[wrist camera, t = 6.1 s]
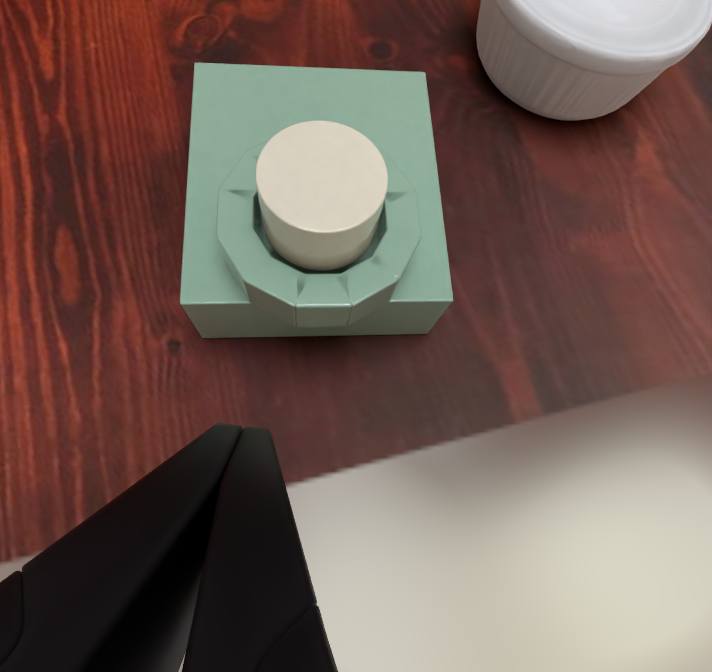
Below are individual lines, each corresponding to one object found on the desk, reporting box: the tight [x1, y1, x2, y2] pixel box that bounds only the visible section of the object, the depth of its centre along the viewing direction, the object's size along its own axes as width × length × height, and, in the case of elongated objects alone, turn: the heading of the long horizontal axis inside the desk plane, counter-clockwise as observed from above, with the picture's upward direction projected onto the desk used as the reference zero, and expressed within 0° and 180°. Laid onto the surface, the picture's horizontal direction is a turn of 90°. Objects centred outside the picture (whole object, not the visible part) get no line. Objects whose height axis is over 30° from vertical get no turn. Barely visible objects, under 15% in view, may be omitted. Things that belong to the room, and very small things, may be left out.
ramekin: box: [476, 0, 712, 121], centre depth 26 cm, size 11×11×5 cm
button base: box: [180, 63, 453, 338], centre depth 20 cm, size 12×10×6 cm
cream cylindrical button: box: [255, 120, 388, 271], centre depth 16 cm, size 4×4×2 cm
